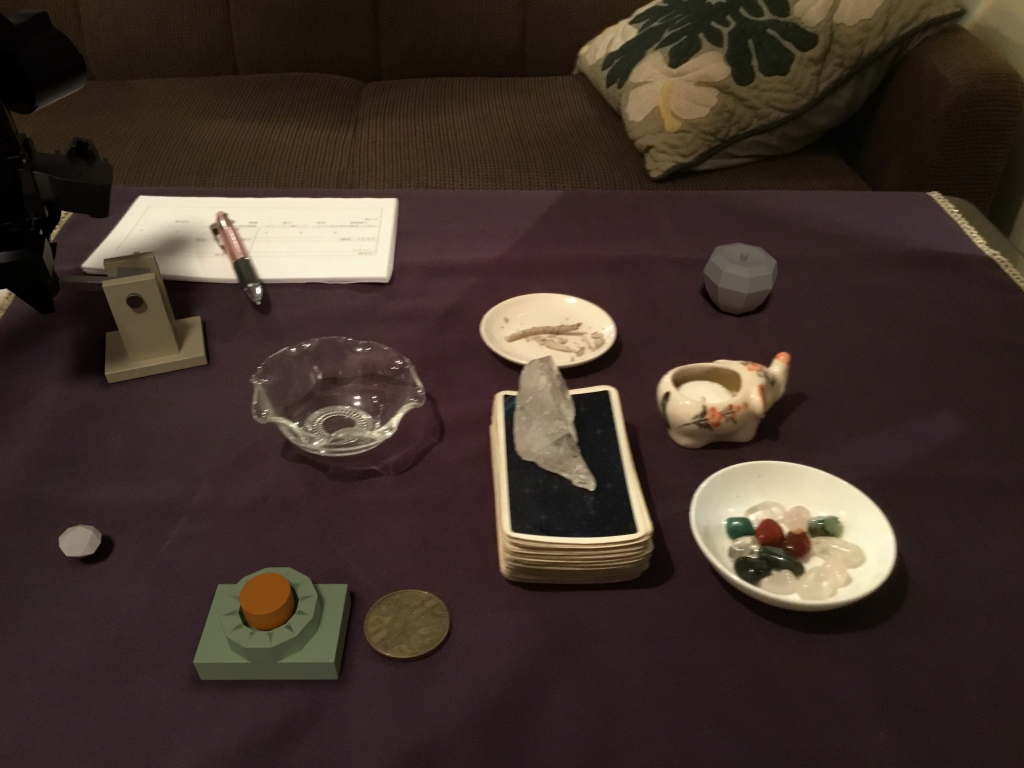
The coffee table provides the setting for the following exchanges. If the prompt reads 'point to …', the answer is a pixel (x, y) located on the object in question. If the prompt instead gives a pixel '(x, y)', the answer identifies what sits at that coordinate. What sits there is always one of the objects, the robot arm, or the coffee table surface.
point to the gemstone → (80, 541)
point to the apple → (739, 277)
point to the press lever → (89, 280)
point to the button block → (276, 634)
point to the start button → (267, 601)
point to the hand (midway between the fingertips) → (50, 303)
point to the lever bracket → (147, 324)
